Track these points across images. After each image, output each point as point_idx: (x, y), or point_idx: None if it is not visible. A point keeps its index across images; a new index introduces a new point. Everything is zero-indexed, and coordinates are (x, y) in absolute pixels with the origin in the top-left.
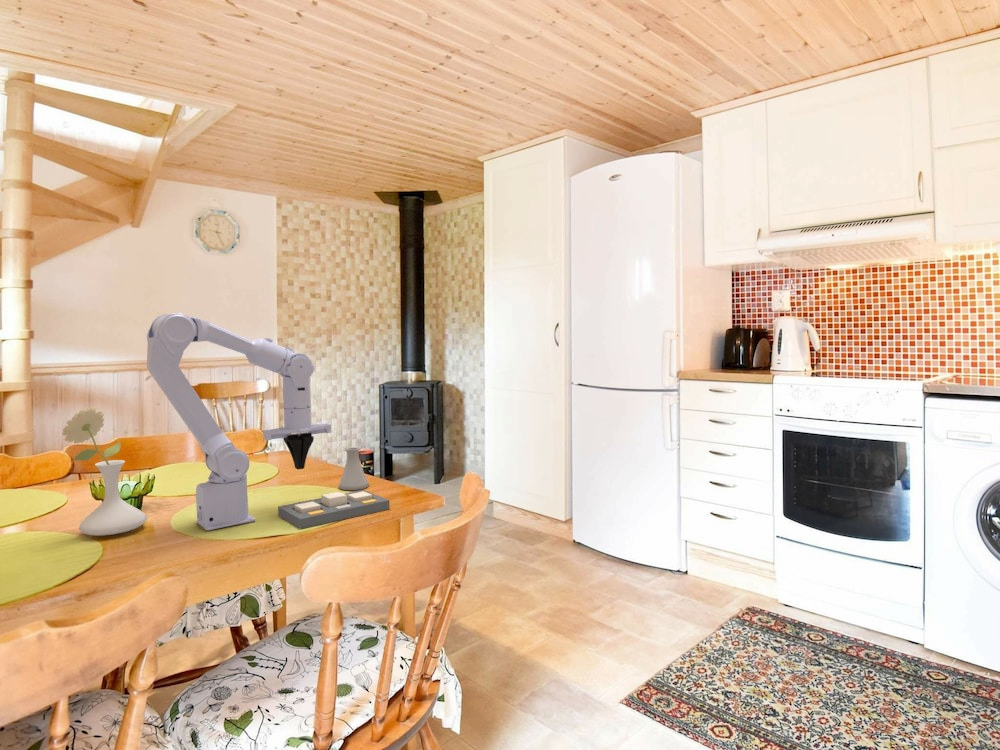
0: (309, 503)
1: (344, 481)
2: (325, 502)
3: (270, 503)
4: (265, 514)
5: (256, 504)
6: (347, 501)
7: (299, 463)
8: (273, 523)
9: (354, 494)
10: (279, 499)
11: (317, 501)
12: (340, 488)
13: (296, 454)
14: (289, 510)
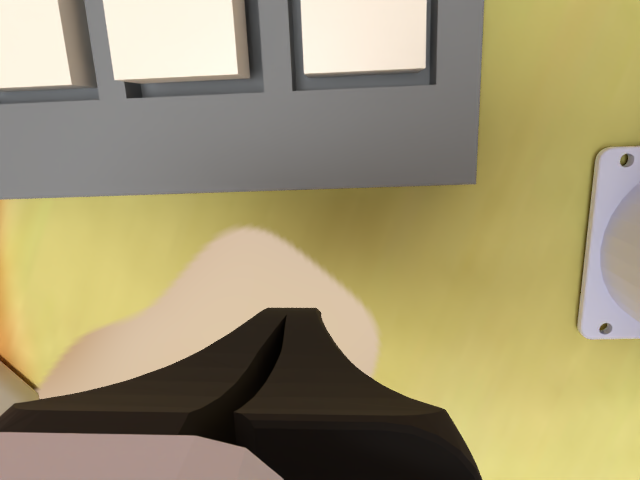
0: (338, 34)
1: None
2: (240, 16)
3: None
4: (501, 245)
5: (463, 437)
6: None
7: (308, 317)
8: (539, 52)
9: (31, 55)
10: None
11: (257, 132)
12: None
13: (339, 355)
14: (461, 48)
